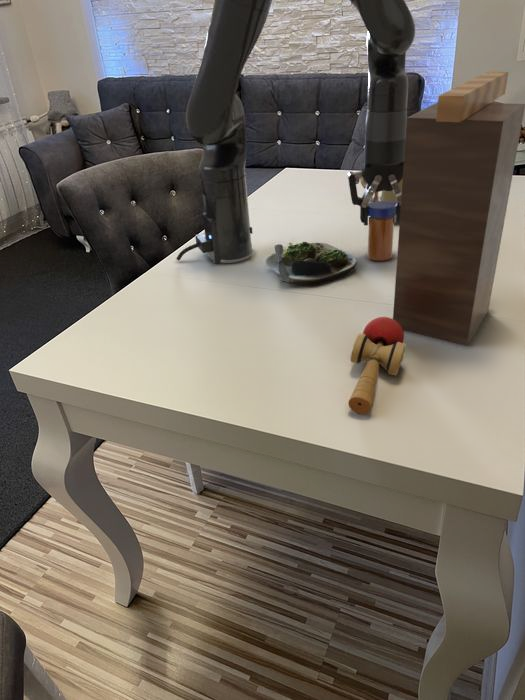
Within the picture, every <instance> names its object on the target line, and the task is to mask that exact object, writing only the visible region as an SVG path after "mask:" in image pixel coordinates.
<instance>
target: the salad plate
mask: <svg viewBox="0 0 525 700" xmlns="http://www.w3.org/2000/svg"><path fill="white" fill-rule="evenodd" d="M273 249H274V253H272V254H270V255H268V256H267V257H266V259H265V260H264V263H265V266H266V267H267V268H268V269H269V270H270V271H272V272H273V273H275V274H277V276H279V278H280V279H281V280H282V281H284V282H285V283H287V282H288V283H290V284H291V285H294V286H299V287H301V286H302V287H315V286H320V285H323V284H327V283H332V282H334V281H337V280H340V279H342V278H345V277H347V276H348V275H350V274H351V273H352V272H353V271H354V270H355V269H356V268H357V265H358V260H357V259H358V258H357V257H356V256H355V255H354V254H353V253H352V254H351V253H349V252H347V251H344V250H342V249H341V248H338V247H336V246H334V245H331V244H329V243H325V242H307V241H302V242H299V243H295V244H293V243H292V242H289V243H288V246H287V248H286V249H284V246H283V244H280V243H278V244H275V245H274V248H273Z"/></svg>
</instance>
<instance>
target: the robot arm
mask: <svg viewBox="0 0 525 700" xmlns="http://www.w3.org/2000/svg"><path fill="white" fill-rule="evenodd" d="M349 1H350V3H351V4H352V5H353V7H354V8H356V10H357V12H358V14H359V16H360V18H361V20H362V22H363V25H364V26H365V28H366V30H367V33H366V34H367V35H366V56H367V57H366V59H367V70H368V86H367V103H366V104H367V105H366V109H367V110H366V116H365V125H364V153H363V154H364V155H363V156H364V158H363V160H364V161H363V167H362V169H361V170H359V171H356V172H353V171H349V172H347V180H348V186H349V187H348V188H349V194H350V199H351V202H352V205H354V206H358V207H359V219H360V222H361V223H362V224H363V226H369V216H368V206H367V205H368V204H369V203H370V201H371V199H372V198H373V196H374V195H375V194H374V192H378V193H380V192H382V191H383V190H384V191H392V190H393V192H394V194H395V196H396V199H397V203H396V204H397V214H396V215H395V223H394V224H396V225H400V211H401V197H402V193H401V190H400V188H399V185H398V184H399V183H400V181H401V180H402V179H403V168H404V154H405V140H406V125H407V117H408V98H409V97H408V96H409V77H408V75H407V72H406V58H407V57H406V56H407V55H406V54H407V52H408V50H409V49H410V48H411V46H412V45H413V43H414V40H415V36H416V24H415V20H414V18H413V15H412V13H411V11H410V8H409V6H408V4H407V3H406V1H405V0H349ZM272 2H273V0H214V2H213V6H212V12H211V15H210V20H209V25H208V29H207V35H206V40H205V46H204V49H203V56H202V58H201V59H202V60H201V62H200V66H199V69H198V73H197V75H196V79H195V81H194V85H193V88H192V91H191V93H190V96H189V100H188V104H187V106H186V111H185V121H186V127H187V130H188V132H189V135H190V136H191V137H192V139H193V140H194V141H195V142H197V143H198V144H200V145H202V146H203V151H202V155H201V156H202V157H201V159H200V161H199V164H198V172H199V180H200V186H201V195H202V202H203V203H202V204H203V211H204V212H202V215H201V216H202V222H203V230H204V232H203V233H199V234H195V235H194V236H195V237H194V238H195V243H194V244H192V245H189V246H187V247H186V248H184V249H182V250H181V251H180V252H179V253H178V255H177V256H176V258H175V259H176V261H180V260H181V259H182V257H183V256H184V255H185V254H186V253H188V252H189V251H192V250H194V249H197V248H198V249H199V250H200V252H202V254H207V256H208V257H209V258H210V260H211V261H212V262H213V263H214V264H215V265H219V264H236V263H241V262H244V261H246V260H249V259H250V258H251V257H253V254H254V250H253V245H252V235H253V227H251V221H250V212H249V211H250V210H249V201H248V187H247V178H246V177H247V176H246V163H247V158H248V157H247V155H248V152H247V151H248V148H247V128H246V126H247V125H246V116H245V110H244V109H245V108H244V105H243V103H242V100H241V99H240V97H239V95H238V94H237V89H238V85H239V81H240V78H241V75H242V72H243V70H244V68H245V65H246V63H247V61H248V59H249V57H250V55H251V54H252V52H253V50H254V48H255V45H256V44H257V42H258V40H259V38H260V36H261V34H262V31H263V30H264V28H265V25H266V21H267V19H268V16H269V13H270V10H271V6H272ZM361 177H363V178H364V180H365V181H366V182H367V186H366V188H365V189H364V191H363V194H362V195H361V197H359V196H358V190H357V189H358V188H357V185H359V183H360V178H361Z"/></svg>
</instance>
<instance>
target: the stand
mask: <svg viewBox="0 0 525 700" xmlns="http://www.w3.org/2000/svg"><path fill="white" fill-rule="evenodd" d="M437 107H438V101H437V102H435V103H433V104H431V105H429V106H427V107H425V108H423V109H422V110H419V111H418V112H417V111H416V113H413V114H411V115H409V116H407V125H406V140H405V154H404V168H403V183H402V197H401V211H400V224H398V225H399V227H398V241H397V255H396V269H395V283H394V284H395V285H394V299H393V313H392V319H393V320H395V321H396V322H398V323H399V325H400V326H401V327H402V330H403V332H409V333H413V334H418V335H422V336H424V337H425V336H426V337H429V338H434V339H438V340H442V341H446V342H449V343H454V344H458V345H463V346H466V347H467V346H468V345H469V343H470V342H471V340H472V338H473V337H474V336H475V333H476V332H477V330H478V329H479V327H480V326H481V324H482V323H483V321H484V319H485V318H486V316H487V314H488V312H489V310H490V305H491V299H492V292H493V288H494V287H493V286H494V281H495V277H496V272H497V271H496V270H497V264H498V260H499V253H500V248H501V242H502V236H503V231H504V226H505V219H506V215H507V210H508V209H507V208H508V203H509V198H510V194H511V193H510V192H511V187H512V181H513V176H514V169H515V164H516V158H517V152H518V149H519V143H520V142H519V141H520V136H521V131H522V125H523V119H524V114H525V103H502V102H501V103H500V102H497V103H496V102H491V103H490V104H488V105H487V106H485V107H483V108H482V109H480V110H479V111H477V112H476V113H474V114H473V115H471V116H469V117H468V118H466V119H465V120H463V121H462V122H460V123H458V122H436V117H437Z"/></svg>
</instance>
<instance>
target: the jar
mask: <svg viewBox="0 0 525 700" xmlns="http://www.w3.org/2000/svg"><path fill="white" fill-rule="evenodd" d="M367 228H368V230H367V232H368V233H367V258H368V259H369V260H372V261H377V262H378V261H379V262H380V261H381V262H382V261H387V260H390V259H392V257H393V246H394V233H395V232H394V230H395V223H394V216H393V217H390V218H373V217H370V216H368V227H367Z"/></svg>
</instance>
